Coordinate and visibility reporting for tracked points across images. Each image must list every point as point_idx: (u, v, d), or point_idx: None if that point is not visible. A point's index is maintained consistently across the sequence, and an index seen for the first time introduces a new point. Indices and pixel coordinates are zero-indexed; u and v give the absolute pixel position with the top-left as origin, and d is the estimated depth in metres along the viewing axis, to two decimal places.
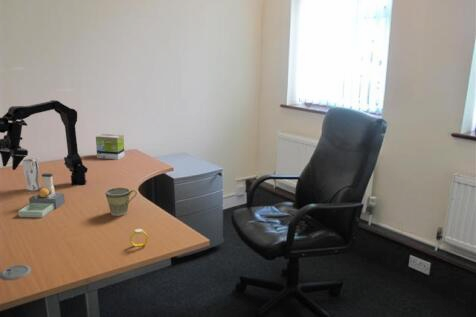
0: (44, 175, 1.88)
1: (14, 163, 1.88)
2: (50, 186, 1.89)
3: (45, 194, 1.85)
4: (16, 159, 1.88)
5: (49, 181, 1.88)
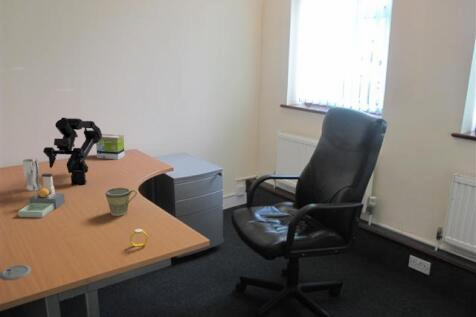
0: (44, 175, 1.88)
1: (72, 162, 2.01)
2: (50, 186, 1.89)
3: (45, 194, 1.85)
4: (74, 159, 2.02)
5: (49, 181, 1.88)
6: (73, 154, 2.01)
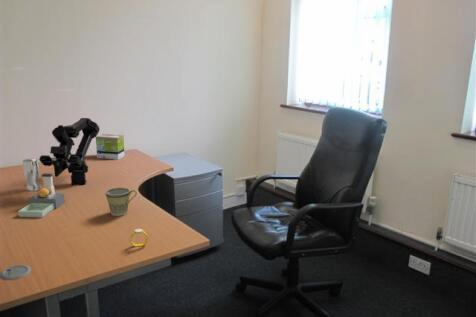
0: (44, 175, 1.88)
1: (59, 170, 1.98)
2: (50, 186, 1.89)
3: (45, 194, 1.85)
4: (61, 167, 1.99)
5: (49, 181, 1.88)
6: (61, 162, 1.98)
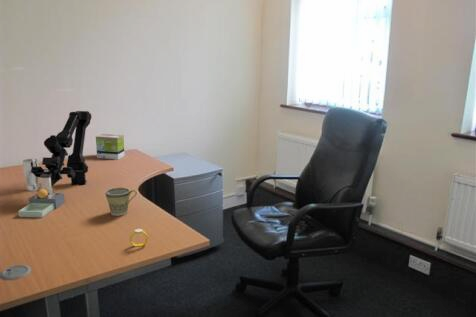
0: (42, 176, 1.86)
1: (52, 182, 1.91)
2: (48, 187, 1.88)
3: (44, 196, 1.84)
4: (54, 179, 1.92)
5: (47, 182, 1.87)
6: (53, 174, 1.91)
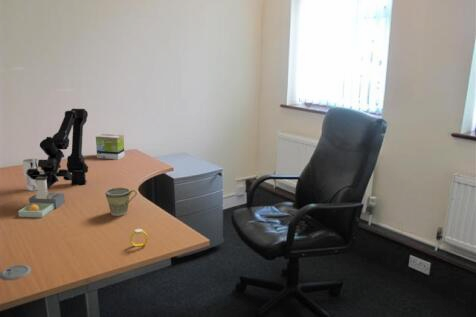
0: (38, 178, 1.83)
1: (48, 184, 1.87)
2: (44, 190, 1.84)
3: (35, 207, 1.77)
4: (50, 181, 1.89)
5: (43, 184, 1.83)
6: (49, 176, 1.87)
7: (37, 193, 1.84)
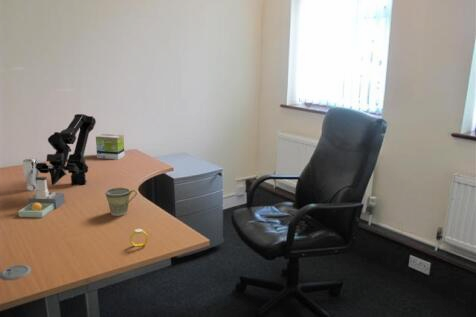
0: (38, 178, 1.83)
1: (56, 178, 1.95)
2: (44, 190, 1.84)
3: (40, 204, 1.81)
4: (58, 175, 1.96)
5: (43, 185, 1.83)
6: (57, 170, 1.95)
7: (37, 193, 1.84)
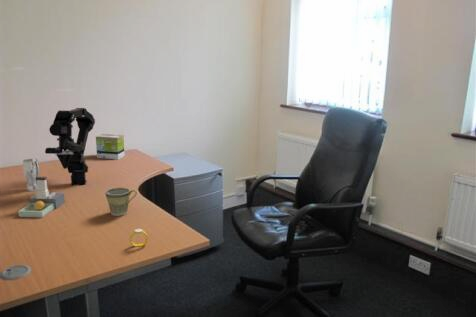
0: (38, 178, 1.83)
1: None
2: (44, 190, 1.84)
3: None
4: None
5: (43, 185, 1.83)
6: (71, 155, 2.05)
7: (37, 193, 1.84)
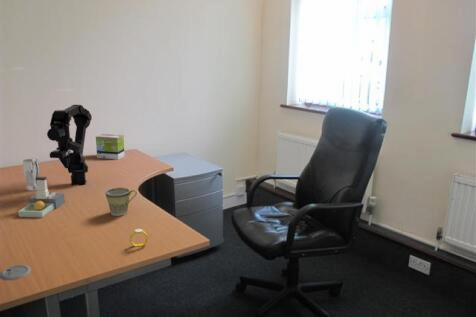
0: (38, 178, 1.83)
1: None
2: (44, 190, 1.84)
3: None
4: None
5: (43, 185, 1.83)
6: (71, 155, 2.06)
7: (37, 193, 1.84)
